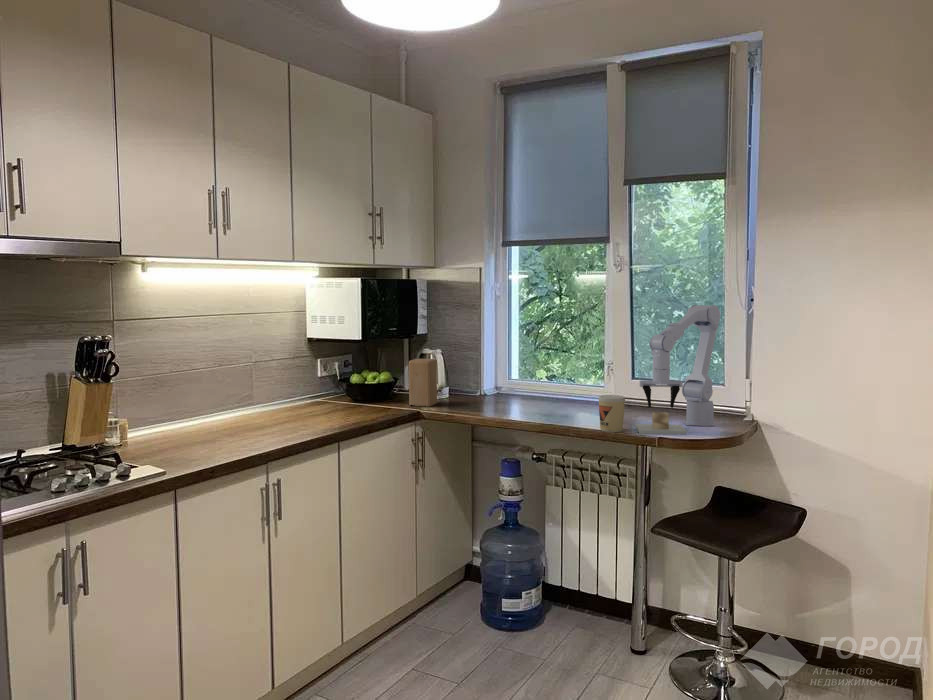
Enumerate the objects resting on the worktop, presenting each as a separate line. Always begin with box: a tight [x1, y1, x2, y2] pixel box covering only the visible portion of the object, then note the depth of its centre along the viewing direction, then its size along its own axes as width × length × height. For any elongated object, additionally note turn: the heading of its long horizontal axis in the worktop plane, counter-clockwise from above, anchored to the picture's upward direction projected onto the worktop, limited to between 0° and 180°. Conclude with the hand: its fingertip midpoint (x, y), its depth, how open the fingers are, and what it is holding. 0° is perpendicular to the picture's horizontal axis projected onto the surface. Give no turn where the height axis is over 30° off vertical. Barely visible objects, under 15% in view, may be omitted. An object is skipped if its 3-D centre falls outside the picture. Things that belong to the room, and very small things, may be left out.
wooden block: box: [408, 358, 438, 408], centre depth 313 cm, size 10×10×20 cm
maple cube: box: [651, 411, 670, 429], centre depth 254 cm, size 5×5×5 cm
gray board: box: [634, 423, 688, 435], centre depth 254 cm, size 16×12×1 cm
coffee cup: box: [597, 394, 626, 433], centre depth 256 cm, size 9×9×12 cm
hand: (660, 407), depth 254 cm, fingers open, 7 cm apart
